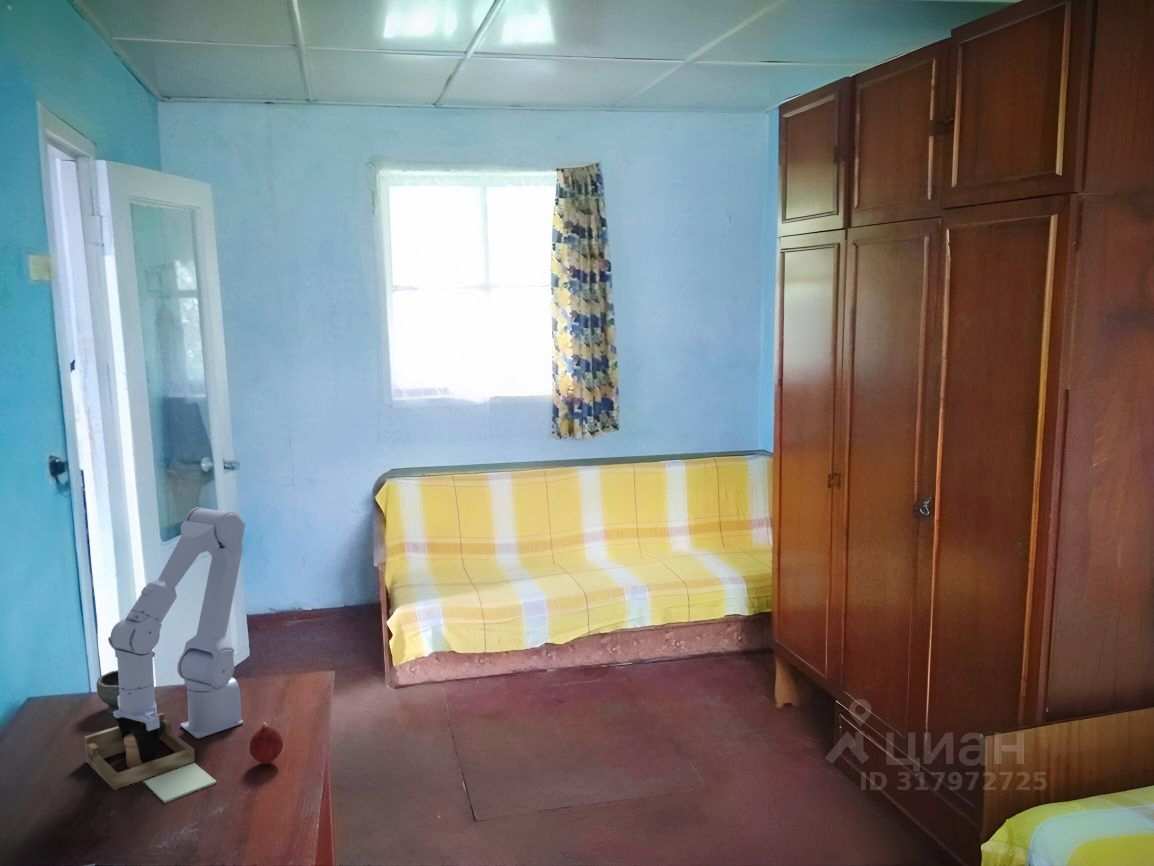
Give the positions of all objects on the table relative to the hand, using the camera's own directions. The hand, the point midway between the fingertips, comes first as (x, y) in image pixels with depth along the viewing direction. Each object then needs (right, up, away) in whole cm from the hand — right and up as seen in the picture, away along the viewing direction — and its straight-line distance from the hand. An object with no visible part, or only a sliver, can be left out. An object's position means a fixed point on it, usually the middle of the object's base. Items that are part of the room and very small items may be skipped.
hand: (140, 753), depth 162 cm
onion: (+23, -2, 0) cm, 23 cm away
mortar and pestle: (-13, +1, +22) cm, 26 cm away
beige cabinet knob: (0, -2, 0) cm, 2 cm away
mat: (+10, -3, -7) cm, 13 cm away
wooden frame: (0, -2, 0) cm, 2 cm away
